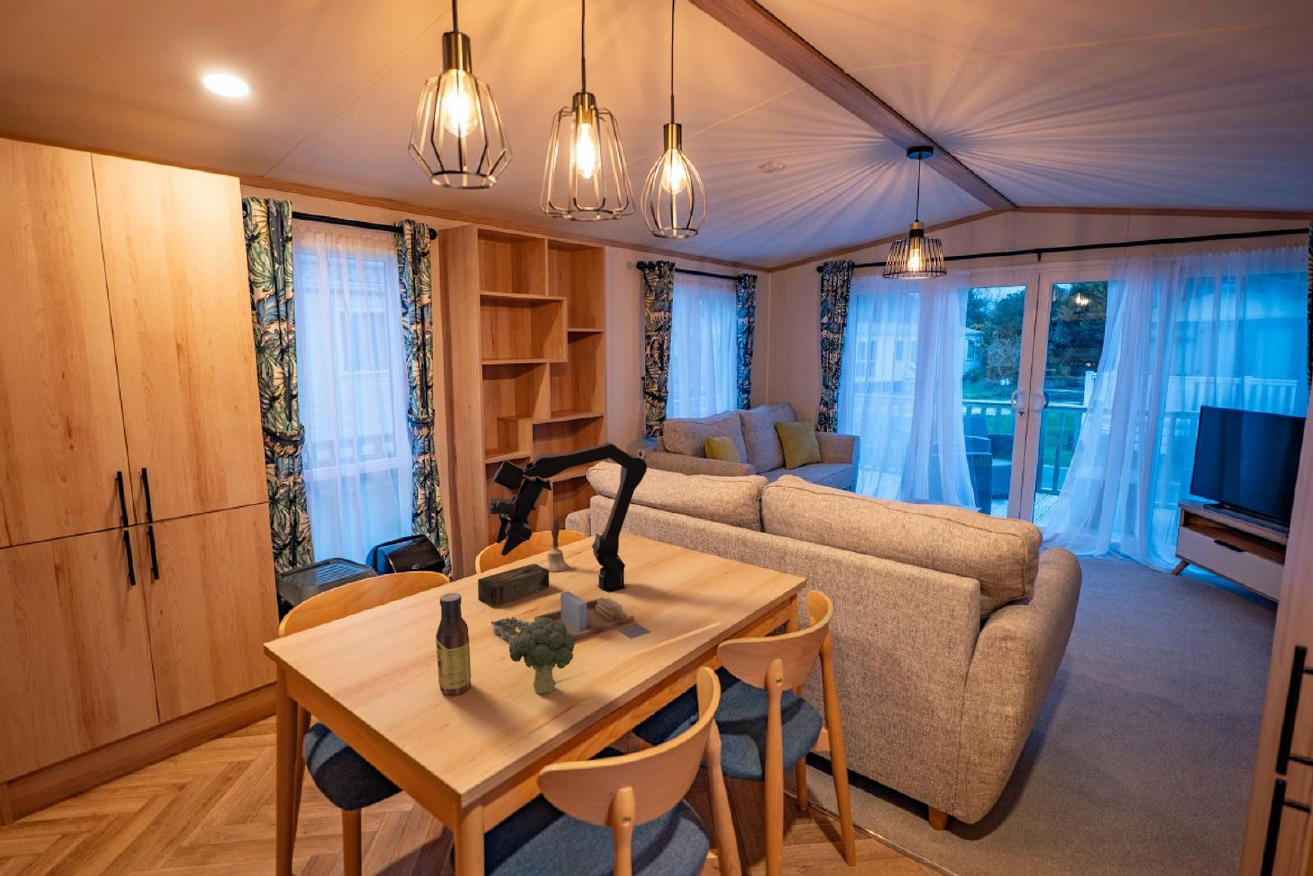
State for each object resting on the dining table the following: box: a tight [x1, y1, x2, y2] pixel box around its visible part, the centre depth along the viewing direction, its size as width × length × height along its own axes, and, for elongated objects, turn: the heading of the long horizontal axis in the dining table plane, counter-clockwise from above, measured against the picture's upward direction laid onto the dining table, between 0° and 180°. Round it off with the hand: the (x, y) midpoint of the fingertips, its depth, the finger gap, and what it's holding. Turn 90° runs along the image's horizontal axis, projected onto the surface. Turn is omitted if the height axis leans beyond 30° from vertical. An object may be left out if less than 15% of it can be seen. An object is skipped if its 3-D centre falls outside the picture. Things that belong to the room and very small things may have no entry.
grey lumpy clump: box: [490, 616, 533, 645], centre depth 146 cm, size 11×8×4 cm
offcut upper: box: [598, 597, 623, 614], centre depth 157 cm, size 4×6×2 cm, turn 37°
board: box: [560, 590, 587, 632], centre depth 151 cm, size 2×9×7 cm, turn 37°
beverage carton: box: [477, 563, 550, 608], centre depth 171 cm, size 8×19×7 cm, turn 137°
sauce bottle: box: [435, 592, 472, 696], centre depth 122 cm, size 6×6×20 cm
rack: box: [533, 597, 635, 642], centre depth 153 cm, size 20×15×2 cm
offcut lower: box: [596, 604, 625, 621], centre depth 158 cm, size 4×8×2 cm, turn 37°
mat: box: [616, 622, 652, 640], centre depth 148 cm, size 6×6×1 cm
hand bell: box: [541, 517, 570, 573], centre depth 191 cm, size 8×8×16 cm
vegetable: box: [508, 617, 575, 695], centre depth 122 cm, size 12×13×15 cm
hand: (500, 548), depth 165 cm, fingers open, 9 cm apart
